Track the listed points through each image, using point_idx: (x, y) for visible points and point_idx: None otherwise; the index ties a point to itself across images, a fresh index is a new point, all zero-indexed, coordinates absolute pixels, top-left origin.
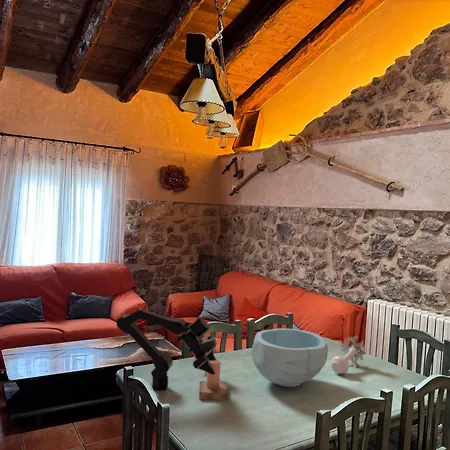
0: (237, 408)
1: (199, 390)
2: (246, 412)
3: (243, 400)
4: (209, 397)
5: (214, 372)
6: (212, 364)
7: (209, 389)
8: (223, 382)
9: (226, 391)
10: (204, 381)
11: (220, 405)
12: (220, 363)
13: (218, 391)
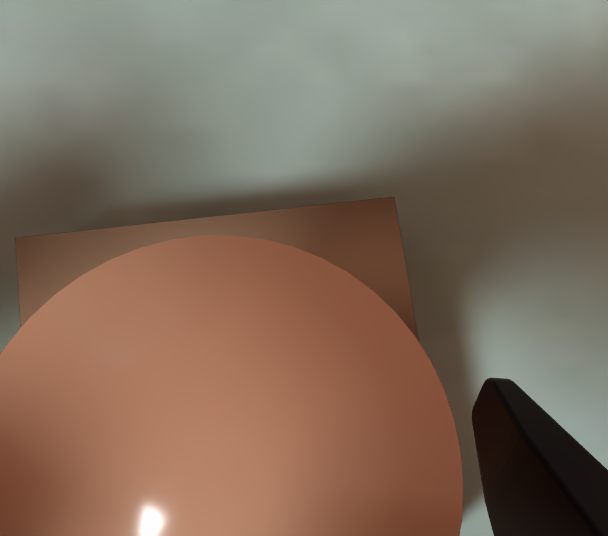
0: (538, 106)
1: None
2: (593, 25)
3: (348, 49)
4: None
5: (521, 393)
6: (454, 521)
7: None
8: (51, 271)
9: (352, 209)
10: None
11: (518, 278)
12: (237, 240)
13: None
